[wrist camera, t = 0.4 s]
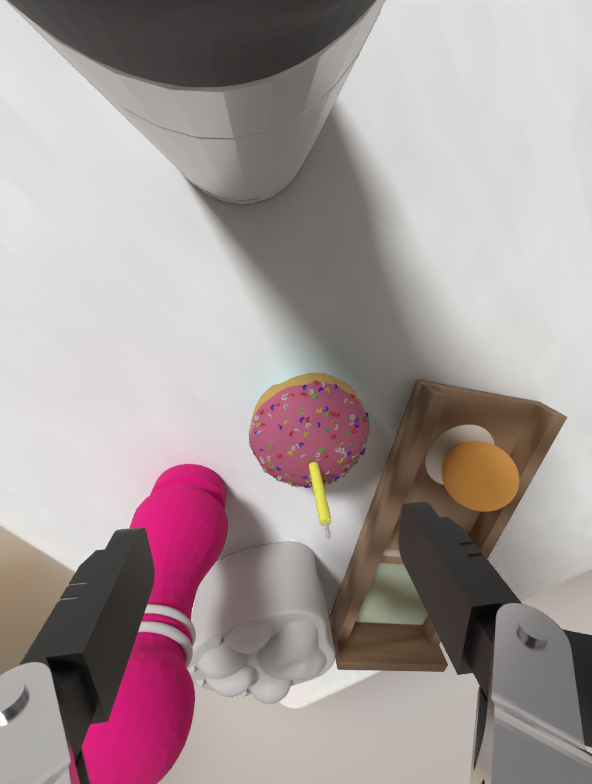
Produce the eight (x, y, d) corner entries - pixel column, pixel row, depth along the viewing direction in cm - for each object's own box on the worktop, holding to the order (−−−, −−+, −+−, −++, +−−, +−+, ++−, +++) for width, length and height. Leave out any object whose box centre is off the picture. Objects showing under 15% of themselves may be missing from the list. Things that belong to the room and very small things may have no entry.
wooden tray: (417, 379, 28) (447, 404, 24) (539, 401, 30) (589, 428, 26) (328, 620, 39) (337, 669, 34) (423, 624, 41) (443, 671, 36)
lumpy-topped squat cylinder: (327, 600, 38) (345, 693, 30) (214, 628, 38) (202, 729, 30) (307, 532, 34) (322, 620, 26) (181, 564, 34) (156, 662, 26)
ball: (443, 424, 29) (483, 462, 24) (500, 433, 30) (550, 471, 25) (421, 478, 31) (453, 523, 26) (475, 485, 32) (516, 530, 27)
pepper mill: (247, 481, 31) (228, 830, 12) (205, 534, 32) (135, 905, 14) (173, 444, 28) (16, 799, 10) (134, 503, 30) (-60, 893, 12)
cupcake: (351, 445, 30) (404, 557, 19) (255, 455, 30) (253, 576, 19) (352, 351, 27) (417, 423, 16) (244, 361, 26) (232, 441, 15)
